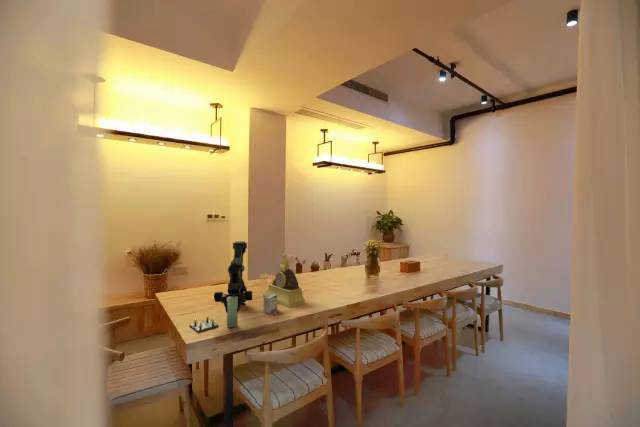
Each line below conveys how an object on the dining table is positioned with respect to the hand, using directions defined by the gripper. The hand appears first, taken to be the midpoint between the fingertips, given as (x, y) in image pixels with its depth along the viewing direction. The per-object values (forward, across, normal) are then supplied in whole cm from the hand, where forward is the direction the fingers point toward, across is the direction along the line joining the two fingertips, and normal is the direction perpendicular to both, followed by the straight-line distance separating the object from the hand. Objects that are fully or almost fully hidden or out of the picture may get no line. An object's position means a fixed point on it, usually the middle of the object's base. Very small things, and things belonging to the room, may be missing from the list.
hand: (232, 312), depth 138 cm
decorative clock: (-22, +28, +34) cm, 49 cm away
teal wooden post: (+4, 0, +6) cm, 7 cm away
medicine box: (-9, +19, +20) cm, 29 cm away
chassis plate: (+3, -14, +8) cm, 16 cm away
